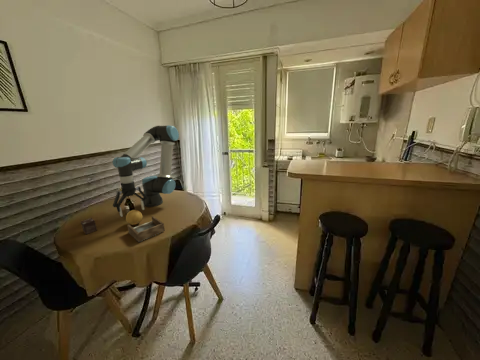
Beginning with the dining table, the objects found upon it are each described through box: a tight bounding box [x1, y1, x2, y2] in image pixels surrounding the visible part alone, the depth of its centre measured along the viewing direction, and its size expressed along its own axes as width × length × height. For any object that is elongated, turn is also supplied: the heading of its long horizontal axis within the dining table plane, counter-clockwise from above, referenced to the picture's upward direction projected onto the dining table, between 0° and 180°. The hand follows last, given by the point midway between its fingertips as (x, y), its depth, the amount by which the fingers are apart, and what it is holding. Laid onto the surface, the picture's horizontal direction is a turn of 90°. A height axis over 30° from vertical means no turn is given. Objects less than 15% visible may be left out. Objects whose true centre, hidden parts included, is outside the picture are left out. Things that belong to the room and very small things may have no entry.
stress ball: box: [125, 209, 143, 226], centre depth 135 cm, size 10×10×10 cm
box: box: [80, 217, 98, 235], centre depth 128 cm, size 6×6×7 cm
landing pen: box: [127, 215, 166, 243], centre depth 126 cm, size 16×16×6 cm
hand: (132, 212), depth 134 cm, fingers open, 13 cm apart
